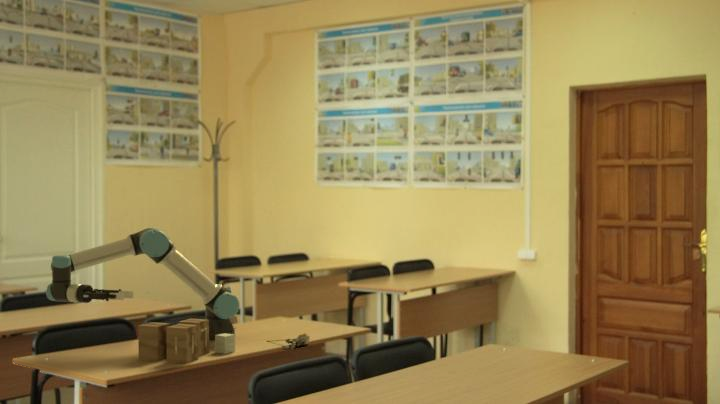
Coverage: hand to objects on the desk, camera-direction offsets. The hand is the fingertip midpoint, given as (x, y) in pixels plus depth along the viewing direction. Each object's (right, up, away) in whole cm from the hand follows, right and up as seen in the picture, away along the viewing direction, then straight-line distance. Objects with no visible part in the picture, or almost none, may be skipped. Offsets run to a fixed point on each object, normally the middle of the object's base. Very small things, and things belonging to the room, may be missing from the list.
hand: (128, 295), depth 373 cm
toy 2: (+62, -25, +25) cm, 71 cm away
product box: (+38, -25, +11) cm, 47 cm away
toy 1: (+28, -24, +76) cm, 84 cm away
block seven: (+26, -25, +6) cm, 36 cm away
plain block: (+12, -25, -4) cm, 28 cm away
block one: (+24, -25, -8) cm, 36 cm away
